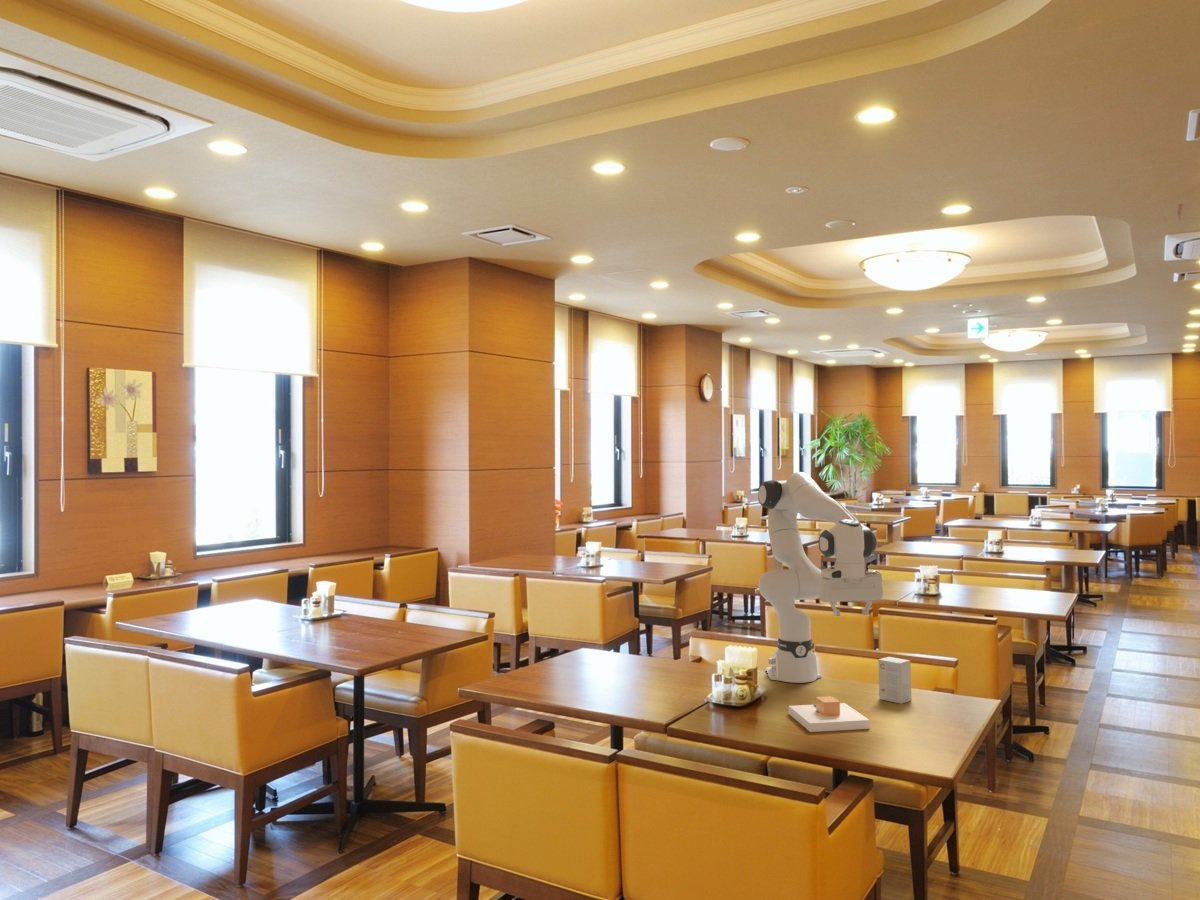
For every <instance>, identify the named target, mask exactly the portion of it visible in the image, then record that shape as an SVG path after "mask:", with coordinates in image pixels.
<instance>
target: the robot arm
mask: <svg viewBox="0 0 1200 900" xmlns="http://www.w3.org/2000/svg"><path fill="white" fill-rule="evenodd" d="M757 499H758V503H759V504H760V506H761V507H762V508H764V509H768V510H769V512H768V515H767V527H768V535H769V542H770V547H771V553H772V555H773V557H774V559H775V560H776V561H777V562H779V563H781V564H784V565H785V566H787V568H788V569H775V570H769V571H766V572H762V574H761V575H760V577H759V579H758V585H757V586H758V587H757V588H758V590H759V591H758V592H759V593H760V595H761V596H762V597H763V598H764V599H765V601H767V602H768V603H770V605H771V606H772V607H773V609H774V610H775V612H776V616H777V620H778V622H777V623H778V634H779V635H778V638H777V641H776V642H777V646H776V648H777V649H776V650H775V651H774V652H773V654H772V655H771V657H769V658H768V665H770V666H766V667H765V672H766V671H767V672H766V674H767V673H768V674H767V676H768V678H769V680H772V681H780V682H785V683H792V684H794V683H795V684H803V683H804V684H805V683H811V682H815V681H816V680H817V679H820V678H822V674H821V673H819V672H818V665H817V664H818V663H817V662H818V661H817V655H816V653H814V652H813V639H812V638H811V630H812V629H811V618H810V617H809V615H808V614H807V613H806V612H804V611H803V610H801V609H799V608H797V607H796V605H795V601H808V600H816V599H819V600H820V601H821V602H823V603H829V605H830V607H831V609H832V610H833V616H835V617H840V616H841V609H837V607H836V606H837V604H838V603H837V602H839V603H840V602H860V601H861V602H862V601H863V602H864V603H865V606H864V608H861V614H862V615H863V616H868V615H869V614H870V612H869V611H870V608H871V606H872V605H873V601H882V599H883V597H884V590H883V586H882V585H883V584H882V582H883V575H882V573H881V572H879V571H878V570H866V567H865V566H866V565H865V564H866V563H865V559H868V558H870V556H871V555H872V554H873V553H874V552H875V551H876V549H877V545H878V541H877V538H876V535H875V533H874V532H873V531H872V530H871V529H870V527H868V526H865V525H864V524H862V523H861V522H860V521H859V520H858V519H857V517H855V515H854V514H853V513H851V511H850V510H849V509H848V508H846V507H845V506H844V505H843V504H842V503H841V502H839V501H837V500H835V499H834V498H832V497H831V496H829V495H828V494H827V493H826V492H825V491H823V490H822V489H821V487H820V486H819V484H818V483H817V482H816V480H814V479H813V477H811V475H809V474H807V473H806V472H803V471H796V472H794V473H792V474H791V475H789V476H788V478H787V479H786V480H779V479H778V480H773V479H771V480H766V481H764V482H762V483H761V484H760V486H758V491H757ZM798 515H801V516H802V517H804V518H806V519H809V520H814V521H816V520H817V521H823V522H829V523H833V524H835V525H834V526H832V527H830V528H827V529H824V530H823V531H822V532H821V533H820V534H819V536H818V549H819V552H820V553H821V554H822V555H823V556H825V557H826V558H828V559H829V558H830V559H835V564H834V565H831V566H829V567H826V568H823V569H821V568H819V567H817V566H816V565H815V564H814V563H813V562H812V561H811V560H810V559H809V557H808V555H807V554H806V553H805V549H804V547H803V542H802V539H801V534H800V530H799V524H798V520H797V519H798V518H797V517H798Z"/></svg>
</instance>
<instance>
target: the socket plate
mask: <svg viewBox="0 0 1200 900" xmlns="http://www.w3.org/2000/svg"><path fill="white" fill-rule="evenodd" d="M788 715H789V716H790V717H792V718H793V719H794V720H795V721H796V722H798V723H799V724H800V725H801V726H802V727H804V728H805V729H806V730H807V731H808V732H810V733H816V732H836V731H837V732H838V731H852V730H853V731H854V730H868V729H869V730H870V727H871V725H870V724H871V723H870V722H871V721H870V719H869V718H867V717H866V716H865V715H863V714H862V713H860V712H858V711H857V710H856V709H854V708H852V707H851V706H850V705H848V704H847V703H846V702H840V715H835V716H823V715H822V714H820V713H817V711H816V703H813V704H801V705H788Z"/></svg>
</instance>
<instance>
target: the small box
mask: <svg viewBox="0 0 1200 900" xmlns="http://www.w3.org/2000/svg"><path fill="white" fill-rule="evenodd" d="M911 665H912V664H911V660H910V659H904V658H899V657H893V656H887V657H883V658H882V657H881V658H879V659H878V692H879V693H878V694H879V695H878V696H879V700H883V701H887V702H893V703H897V704H901V705H902V704H905V703H907V702H910V701H912V674H911V668H912V667H911Z"/></svg>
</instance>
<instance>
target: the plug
mask: <svg viewBox="0 0 1200 900" xmlns="http://www.w3.org/2000/svg"><path fill="white" fill-rule="evenodd" d="M840 703H841V702H840V701H839V700H838V699H837V698H835V697H833V696H830V695H829V696H816V697H815V704H816V711H817V713H820V714H822V715H823V716H835V715H840Z"/></svg>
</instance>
